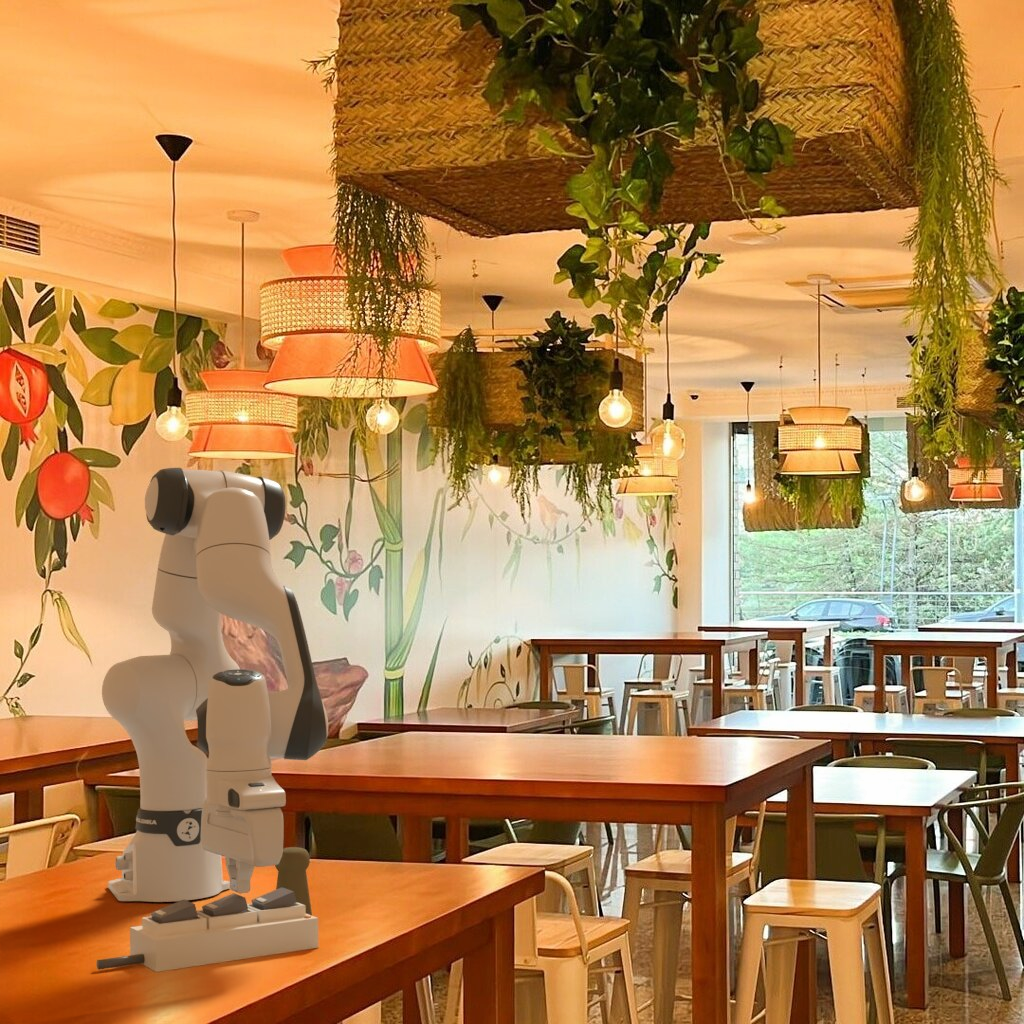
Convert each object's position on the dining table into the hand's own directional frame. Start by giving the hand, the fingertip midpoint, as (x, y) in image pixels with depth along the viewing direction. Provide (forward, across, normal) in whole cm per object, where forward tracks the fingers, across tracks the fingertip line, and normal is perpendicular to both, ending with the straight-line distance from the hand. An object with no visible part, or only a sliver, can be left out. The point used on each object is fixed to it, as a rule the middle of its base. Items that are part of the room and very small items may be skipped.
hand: (240, 891), depth 211 cm
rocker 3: (+2, 0, +5) cm, 5 cm away
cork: (+8, -12, +13) cm, 20 cm away
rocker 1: (+2, 0, -9) cm, 9 cm away
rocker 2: (+2, 0, -2) cm, 3 cm away
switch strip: (+8, 0, -5) cm, 9 cm away
